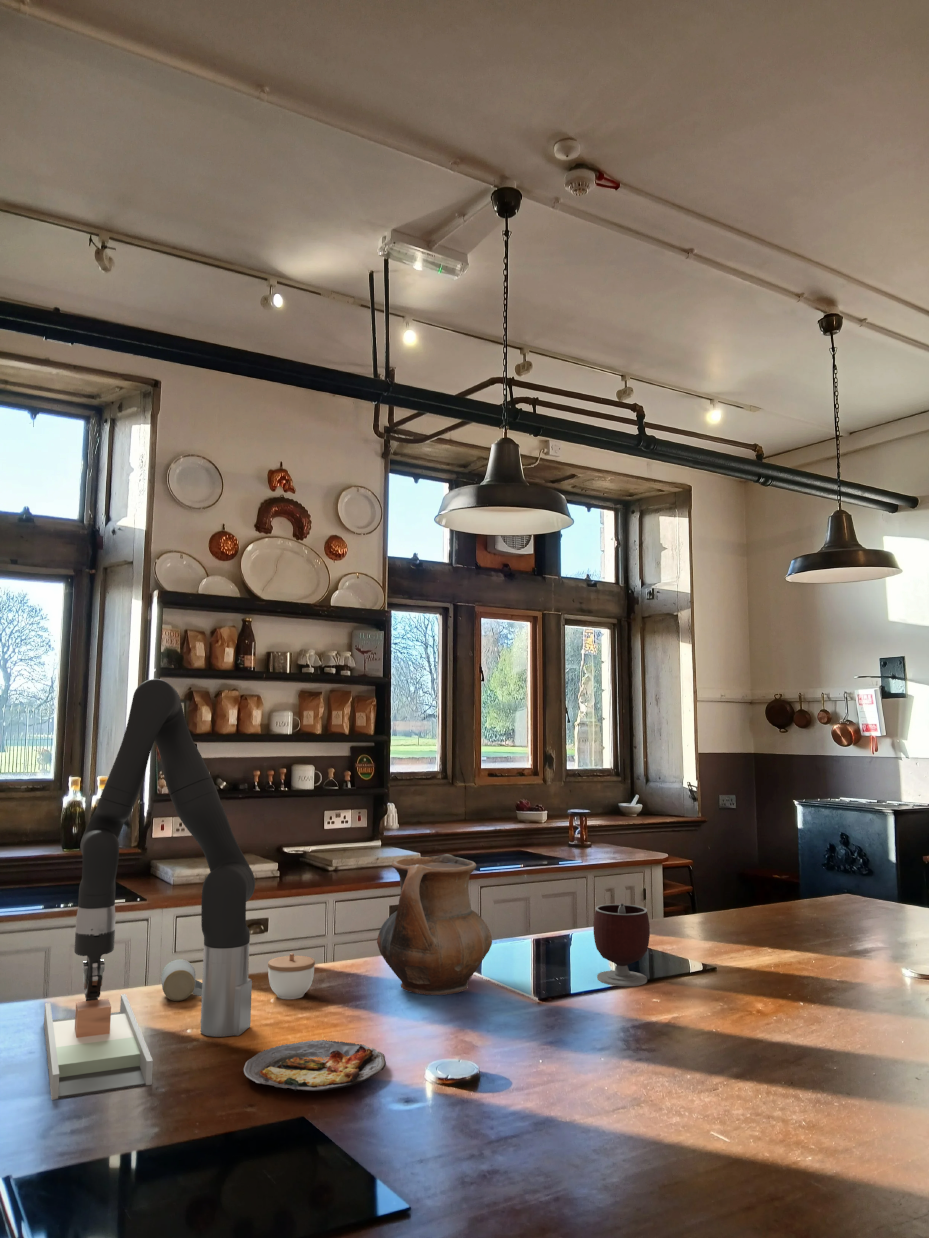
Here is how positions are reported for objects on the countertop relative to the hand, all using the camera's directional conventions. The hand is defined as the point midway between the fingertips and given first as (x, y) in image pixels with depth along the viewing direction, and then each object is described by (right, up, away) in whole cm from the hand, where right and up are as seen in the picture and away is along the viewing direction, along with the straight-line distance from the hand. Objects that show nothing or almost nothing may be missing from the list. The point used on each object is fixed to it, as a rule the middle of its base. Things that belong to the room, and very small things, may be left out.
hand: (90, 1016), depth 187 cm
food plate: (+49, -2, -20) cm, 53 cm away
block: (+3, 0, -6) cm, 6 cm away
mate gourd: (+115, -10, +43) cm, 123 cm away
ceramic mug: (+11, -7, +26) cm, 29 cm away
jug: (+68, -9, +38) cm, 78 cm away
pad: (+8, -2, -17) cm, 18 cm away
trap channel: (+4, -2, -9) cm, 11 cm away
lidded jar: (+35, -7, +28) cm, 45 cm away
